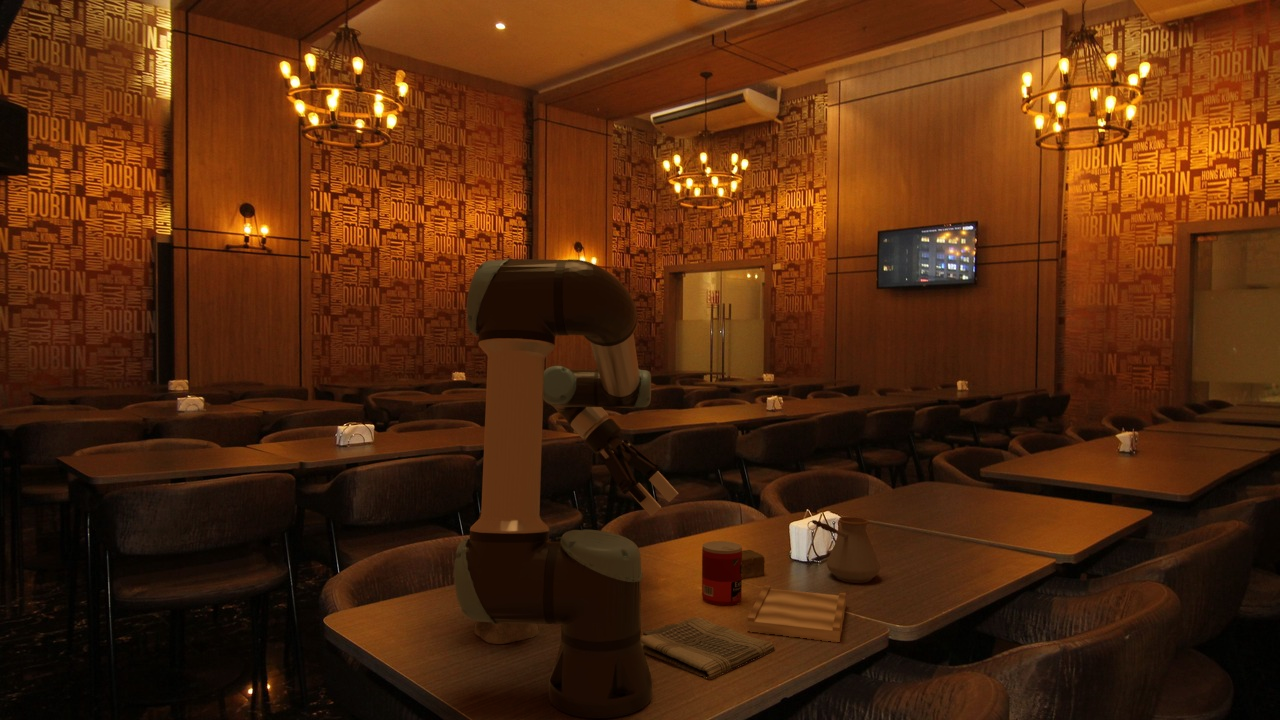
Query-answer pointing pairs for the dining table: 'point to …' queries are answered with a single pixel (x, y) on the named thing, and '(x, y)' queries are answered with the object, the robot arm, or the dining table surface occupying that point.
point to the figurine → (504, 630)
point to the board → (798, 614)
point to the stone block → (752, 564)
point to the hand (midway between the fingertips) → (665, 504)
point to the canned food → (721, 573)
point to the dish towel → (703, 646)
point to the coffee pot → (851, 551)
